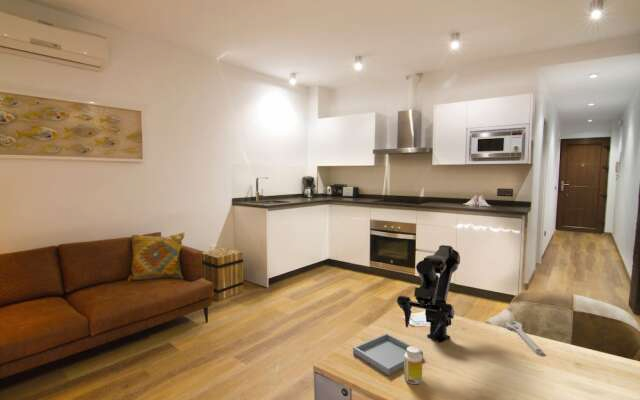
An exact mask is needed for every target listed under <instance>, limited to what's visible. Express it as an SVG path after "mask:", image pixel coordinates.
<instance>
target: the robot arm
mask: <svg viewBox="0 0 640 400" xmlns="http://www.w3.org/2000/svg"><path fill="white" fill-rule="evenodd" d="M460 264H461V256H460V252H458V251H457V250H456V249H454V247H453V246H451V245H447V244H445V245H444V244H442V245H439V247H438V249H437V250H436V251H435V253H434V254H432V255H431V254H430V255H427V256H425V257H423V259H422V260H420V261H419V262H418V263H417V264H416V266H415V269H416V272H417V274H418V276H419V279H420V280H421V284H420V285H419V287H416V286H415V287H414V294H413V297H414V299H415V300H416V301H414V300H411V298H410V296H405V295H399V296H397V298H396V303H397V304H398V307H399V308H400V309H401V310H402V311H403V313H404V321H405V322H404V323H405V328H409V325H410V320H411V316H412V308H416V309H417V308H418V309H423V310H425V311H424V312H425V313H424V315H425V321H426V323H429V324H430V325H429V326H430V327H429V333H428V334H426V336H427V337H428V338H429V339H433V340H435V341H437V342H439V343H442V342H444V341H447V340H449V339H450V338H451V336H450V335H449V334H447V329H448V328H447V327H449V326H452V319H454V317H455V310H454V309H455V308H454V306H453V305H452V304H450V303H447V299H448V295H449V294H448V293H449V290H450V285H451V281H452V275H453V274H454V273H455V272H456V271H457V270H458V267H459V265H460ZM438 274H439V275H438Z"/></svg>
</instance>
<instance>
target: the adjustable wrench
mask: <svg viewBox="0 0 640 400" xmlns="http://www.w3.org/2000/svg"><path fill="white" fill-rule="evenodd" d="M505 327H506V329H507V330H510V331H512V332H514V333H516V334H517V335H518V336H519V337H520V338H521V339H522V341H524V343H525V344H526V345H527V346H528V347H529V348H530V349H531V351H533V353H534V354H536V355H538V356H543V355H544V350H543V349H542V348H541V347H540V346H539V345H538V344H537V343H536V342H535V341H533V339H532V338H530V336H528V335H527V334H526V332H525V331H524V330H523V324H522V323H520V322H519V321H514V320H512V321H511V323H509V322H508V321H506V322H505Z"/></svg>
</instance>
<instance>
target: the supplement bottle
mask: <svg viewBox="0 0 640 400" xmlns="http://www.w3.org/2000/svg"><path fill="white" fill-rule="evenodd" d="M420 350H421V349H420V348H419V347H417V346H414V345H411V346H410V347H408V348H407V352H406V353H405V355H404V368H403V370H404V375H403V376H404V379H405V381H406V382H408V383H409V384H413V385H418V384H421V383H422V380H423V358H422V356H421V354H420Z"/></svg>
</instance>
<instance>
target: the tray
mask: <svg viewBox="0 0 640 400" xmlns="http://www.w3.org/2000/svg"><path fill="white" fill-rule="evenodd" d="M410 346H412V345H411V344H409V343H407V342H405V341H403V340H402V339H399V338H397V337H395V336H393V335H392V334H389V333H387V332H386V333H383V334H381V335H379V336H377V337H374V338H372V339H369V340H367V341H365V342H362V343H360V344H358V345H355V346H353V347H352V354H353V355H355V356H356V357H357V358H359V359H361V360H362V361H363V362H365V363H367V364H369V365H370V366H372V367H373V368H375V369H376V370H379V372H381V373H383V374H385V375H386V376H388V377H389V376H391V375H394V374H395V373H397V372H399V371H400V370H402V369H403V370H404V355H405V353H406V352H407V348H408V347H410ZM419 350H420V354H421V356H422V359H423V358H424V351H423V350H421V349H419Z"/></svg>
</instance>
